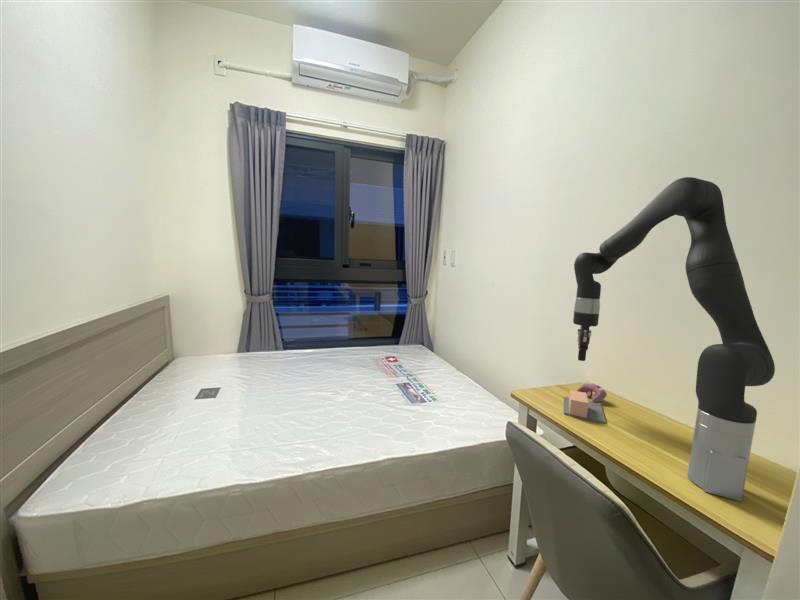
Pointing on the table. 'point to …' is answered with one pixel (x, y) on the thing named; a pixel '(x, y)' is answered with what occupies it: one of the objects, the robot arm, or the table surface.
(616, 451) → the table surface
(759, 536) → the table surface
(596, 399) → the video game controller
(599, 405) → the charcoal mat
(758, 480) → the table surface
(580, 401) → the peach block
